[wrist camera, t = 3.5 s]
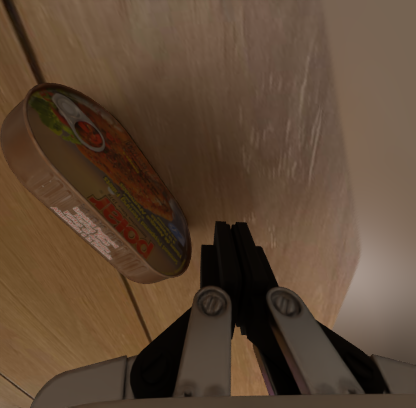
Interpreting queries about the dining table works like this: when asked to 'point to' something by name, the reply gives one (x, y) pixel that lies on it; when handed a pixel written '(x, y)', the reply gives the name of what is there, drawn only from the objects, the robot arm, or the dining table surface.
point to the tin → (96, 182)
